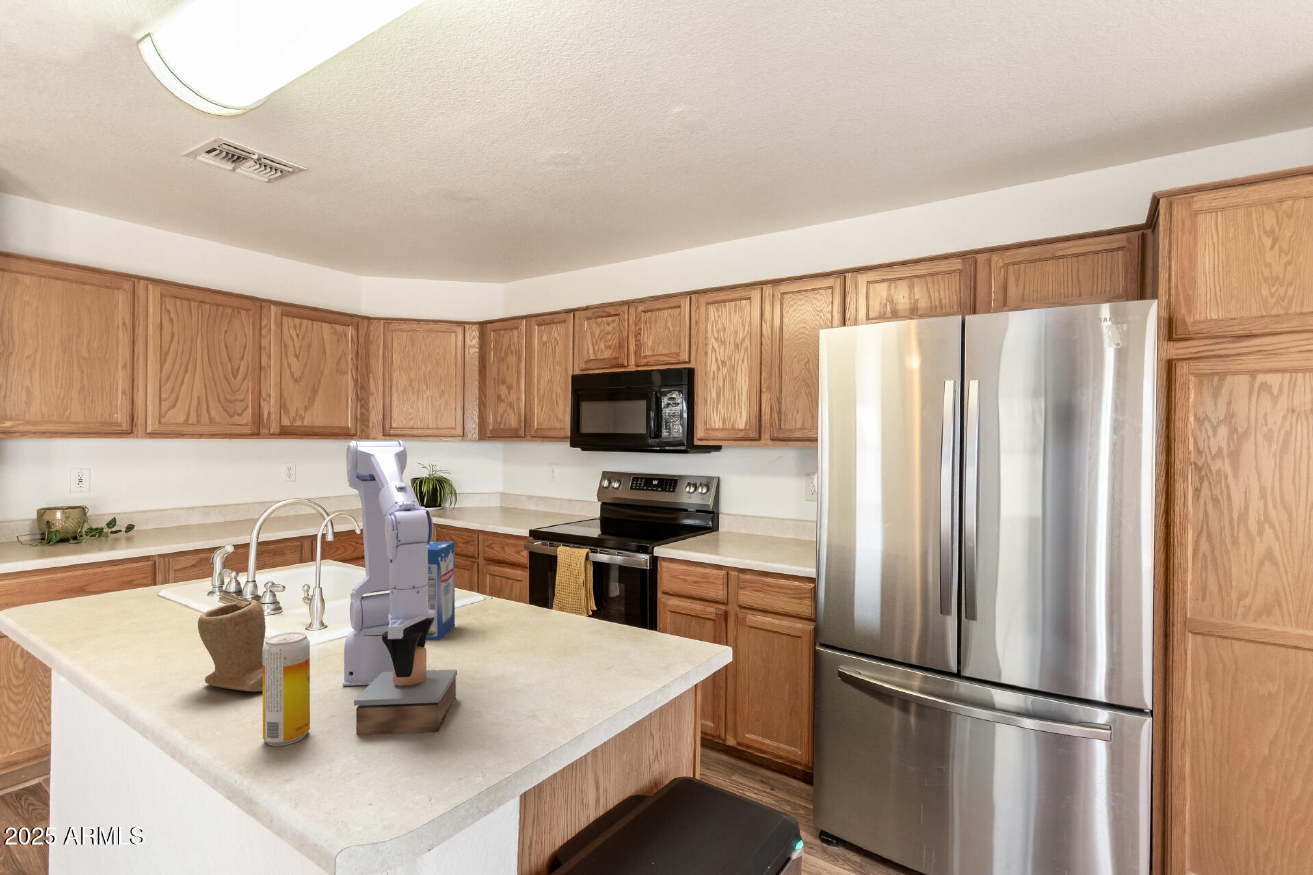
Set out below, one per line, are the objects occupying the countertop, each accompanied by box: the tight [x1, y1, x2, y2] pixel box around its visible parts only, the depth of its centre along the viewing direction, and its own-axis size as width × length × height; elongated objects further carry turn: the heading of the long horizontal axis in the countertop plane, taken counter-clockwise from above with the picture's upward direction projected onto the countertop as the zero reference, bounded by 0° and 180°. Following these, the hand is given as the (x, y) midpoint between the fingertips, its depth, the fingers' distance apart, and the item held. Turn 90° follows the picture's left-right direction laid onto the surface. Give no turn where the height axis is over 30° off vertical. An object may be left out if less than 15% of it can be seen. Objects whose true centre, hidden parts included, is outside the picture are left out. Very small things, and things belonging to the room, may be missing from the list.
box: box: [355, 676, 457, 736], centre depth 102 cm, size 12×12×4 cm
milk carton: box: [426, 541, 456, 641], centre depth 144 cm, size 10×6×20 cm, turn 179°
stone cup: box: [197, 599, 267, 692], centre depth 114 cm, size 15×12×15 cm
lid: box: [353, 668, 458, 707], centre depth 102 cm, size 12×12×1 cm
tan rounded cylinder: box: [393, 646, 428, 686], centre depth 102 cm, size 5×5×4 cm
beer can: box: [262, 631, 311, 747], centre depth 95 cm, size 6×6×15 cm
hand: (409, 669), depth 102 cm, fingers open, 5 cm apart
